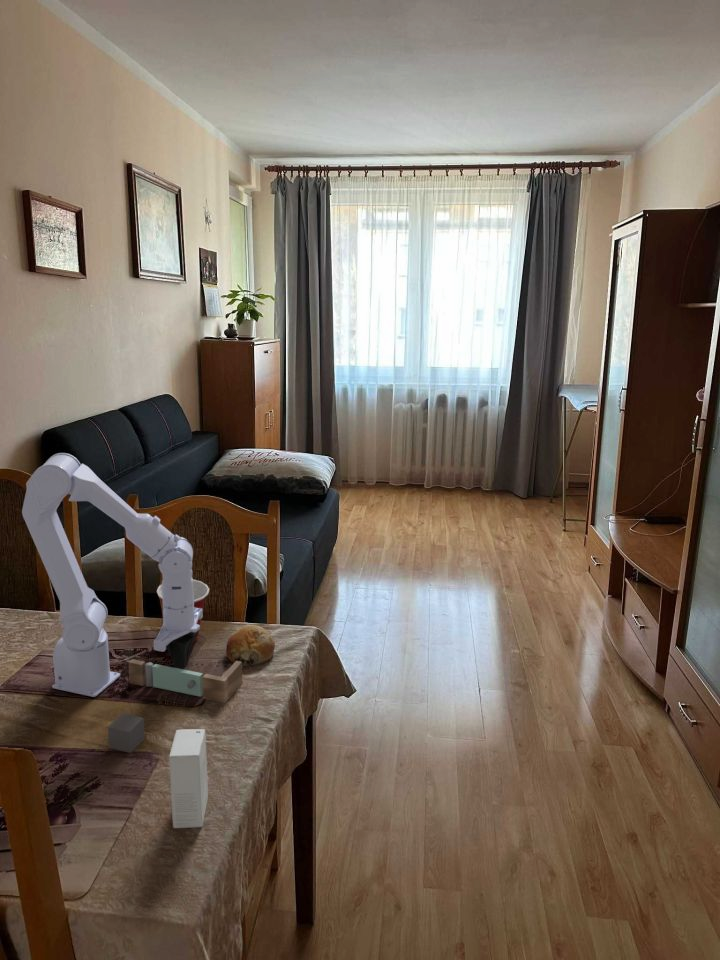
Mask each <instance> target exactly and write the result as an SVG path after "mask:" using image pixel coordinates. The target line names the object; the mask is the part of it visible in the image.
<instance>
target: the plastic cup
mask: <svg viewBox="0 0 720 960" xmlns="http://www.w3.org/2000/svg"><path fill="white" fill-rule="evenodd" d="M193 589H194V607H195V608H200V609H203V610H204V605H205V602H206V599H207V596H209V592H210V588H209V586H208V584H206V583H204V582H203V581H201V580H197V579H193ZM156 593H157V596H158V598H159V600H160V604H161V606H162V608H163V599H162V583H161V584H159V586H158V587H157V590H156ZM201 623H202V618H201V619H198V621H197V624H198V625H200V626H201ZM199 634H200V629H199V630H198V635H197V637H196V638H195V640H194V643H195V642H197V640H198V638H199Z"/></svg>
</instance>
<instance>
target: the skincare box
mask: <svg viewBox="0 0 720 960" xmlns="http://www.w3.org/2000/svg"><path fill="white" fill-rule="evenodd" d="M206 735H207V733H206V729H205V728H197V729H195V728H194V729H193V728H191V729H176V730H175V733H174V738H173V739H172V740H173V741H172V745H171V748H170V753H169V756H168V759H169V760H168V761H169V762H168V763H169V778H170V779H169V780H170V799H171V814H172V815H171V817H172V828H174V829H186V828H188V829H189V828H192V829H193V828H202V827H203V825H204V819H205V816H206V815H205V814H206V810H207V803H208V799H209V791H208V787H209V786H208V766H207V765H208V764H207V761H208V759H207V737H206Z"/></svg>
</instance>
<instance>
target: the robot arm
mask: <svg viewBox="0 0 720 960" xmlns="http://www.w3.org/2000/svg"><path fill="white" fill-rule="evenodd" d="M25 485H26V492H25V495H24V500H23V504H22V509H21V514H22V518H23V520H24V521H25V524H26V526H27V529H28V531H29V534H30V536H31V538H32V540H33V542H34V545H35V548H36V549H37V550H36V551H37V552H38V554H39V557H40V559H41V562H42V564H43V565H44V566H43V567H44V568H45V571H46V573H47V575H48V577H49V580H50V582H51V584H52V586H53V589H54V591H55V593H56V596H57V599H58V600H59V616H60V617H59V618H60V621H61V623H62V633H61V634H62V635H61V638H60V639H59V640H58V641H57V642H56V644H55V646H54V648H53V652H52V663H53V674H54V680H55V681H54V684H52V689H56V690H60V691H65V692H68V693H69V692H70V693H74V694H79V695H82V696H88V697H91V698H96V697H97V696H99V694H101V693H102V692H103V691H104V690H106V689H107V688H108V687H109V686H110V685H111V684H113V683H114V682H115V681H117V679H118V678H120V677H121V673H120V672H116V671H115V672H114V671H111V668H110V655H109V654H110V653H109V651H110V650H109V640H108V636H109V635H108V633H107V631H105V629H104V624H105V622H106V621H107V619H108V614H109V613H108V608H107V606H106V604H105V603H104V602H102V600H100V599H99V598H98V596H97V595H96V593H95V591H94V590H93V589H92V588H90V587H89V586H88V584H87V581H86V580H85V577H84V575H83V573H82V570H81V568H80V565H79V563H78V560H77V558H76V556H75V553H74V551H73V549H72V546H71V544H70V543H71V542H69V540H68V539H69V538H68V537H67V534H66V532H65V528H63V527H64V526H63V525H62V522H61V520H60V517H59V514H58V512H57V510H58V507H59V506H60V505H61V502H62V501H63V500H64V498H65V497H67V495H70V497H69V498H68V501H69V502H89V504H92V505H93V506H94V507H96V508H97V509H98V510H100V511H101V512H103V513H104V514H105V515H107V517H110V518H111V519H112V520H114V521H115V522H117V523H118V525H120V526H122V527H123V528H124V530H125V538H126V539H127V540H128V541H130V542H131V543H132V544H134V546H136V547H138V549H140V550H141V551H142V552H144V554H146V555H147V556H149V558H151V559H152V560H154V561H156V562H158V566H157V567H158V569H159V571H160V573H161V574H162V579H161V584H162V599H163V607H162V618H163V621H162V622H163V624H162V626H161V628H160V630H159V632H158V634H157V636H156V637H155V639H154V640H153V650H154V651H158V652H165V651H166V650H167V651H168V653H169V655H170V659H171V661H172V663H173V666H174V667H173V668H178V669H183V670H186V668H187V667H188V664H189V660H190V657H191V653H192V652H191V651H192V648H193V645H194V643H195V642H194V640H195V638H196V637H197V635H198V630H199V631H200V629H201V624H200V625H198V624H197V621H198V619H201V620H202V619H203V617H204V616H203V613H204V611H203V610H204V608H203V609H200V608H195V607H194V589H193V580H194V579H193V569H192V568H193V557H194V550H193V546H192V544H191V543H190V542H189V541H188V539H187V538H185V537H183V536H179V535H178V534H177V533H176V534H173V533H172V532H171V531H170V530H168V529H167V528H166V527H165V526H164V525H162V523H161V518H159V517H158V516H157V515H154V516H152V515H151V514H149V513H137V511H136V510H134V509H133V508H132V507H131V506H130V505H129V504H128V503H127V502H125V500H124V499H122V498H121V497H120V496H119V495H118V494H117V493H116V492H115V491H113V490H112V489H111V488H110V486H108V485H107V484H106V483H105V482H104V481H103V480H101V478H99V476H97V474H96V473H95V472H94V471H93V470H92V469H91V468H90V467H89V466H88V465H86V464H84V463H81V462H80V460H78V458H77V457H75V456H74V455H72V454H71V453H66V452H58V453H55V454H53V455H52V456H50V457H49V458H48V459H47V460H46V461H45V463H43V465H41V466H39V467H38V468H36V469H35V471H34V472H33V473H32V475H30V478H29V479H28V480H27V481H26V483H25ZM198 636H199V635H198Z"/></svg>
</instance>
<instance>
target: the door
mask: <svg viewBox="0 0 720 960" xmlns="http://www.w3.org/2000/svg"><path fill="white" fill-rule="evenodd" d="M145 670H146V684H145V685H146V687H153V688H156V689H157V688H158V689H162V690H166V691H170V692H171V691H172V692H177V693H179V694H181V693H182V694H186V695H190V696H196V697H200V698H201V697H203V676H204V674H203V673H204V672H203V673H202V672H198V671H194V670H193V671H192V670H188V669H178V668H175V667H173V666H167V665H162V664H157V663H155V664H154V663H153V662H150V661H149V662H145Z"/></svg>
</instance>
